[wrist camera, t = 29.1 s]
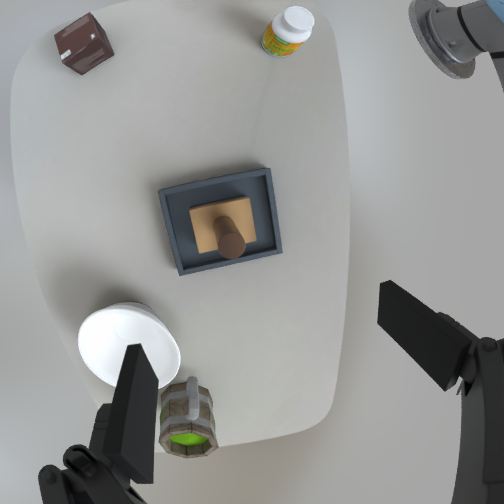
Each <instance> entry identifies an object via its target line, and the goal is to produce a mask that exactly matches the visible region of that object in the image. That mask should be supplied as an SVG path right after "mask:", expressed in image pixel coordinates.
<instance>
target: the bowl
mask: <svg viewBox="0 0 504 504" xmlns="http://www.w3.org/2000/svg"><path fill="white" fill-rule="evenodd" d="M138 343H141V345H142V347H143V349H144V352H145V354H146V356H147V358H148V360H149V362H150V364H151V366H152V368H153V370H154V372H155V374H156V376H157V378H158V380H159V386H158V389H159V388H162V387H163V386H165V385H167V384H168V383H169V382H170V381H171V380H172V379H173V378H174V377H175V375H176V374H177V372H178V370H179V366H180V352H179V348H178V346H177V344H176V342H175V339H174V338H173V337H172V335H171V334H170V332H169V329H168V327H167V325H166V324H165V323H164V321H163V320H162V319H161V318H160V317H159V316H158V315H157V314H156V313H155V312H154V311H153V310H152V309H150V308H149V307H147V306H146V305H143V304H141V303H137V302H123V303H116V304H112V305H110V306H108V307H106V308H104V309H101V310H98V311H96V312H94V313H92V314H91V315H89V316H88V317H87V318H86V319H85V320H84V321H83V323H82V325H81V326H80V329H79V333H78V347H79V351H80V354H81V356H82V358H83V360H84V362H85V363H86V365H87V366H88V368H89V369H90V370H91V371H92V372H93V373H94V374H95V375H96V376H98V377H99V378H100V379H101V380H103V381H105V382H106V383H108V384H110V385H112V386H114V387H116V385H117V381H118V377H119V373H120V369H121V366H122V362H123V359H124V355H125V352H126V348H127V345H132V344H138Z"/></svg>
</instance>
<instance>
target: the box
mask: <svg viewBox="0 0 504 504" xmlns="http://www.w3.org/2000/svg"><path fill="white" fill-rule="evenodd" d="M54 37H55V40H56V44H57V47H58V50H59V54H60V57H61V60H62V63H63V64H65V65H66V66H68V67H70V68H71V69H73V70H74V71H76V72H78V73H79V74H81V75H83V74H84V73H86V72H87V71H89V70H90V69H92V68H93V67H95V66H97V65H98V64H100V63H101V62H103V61H105V60H106V59H108V58H110V57H111V56H113V55H114V52H113V50H112V48H111V45H110V43H109V41H108V38H107V36H106V33H105V31H104V29H103V28H102V27H101V25H100V24H99V23H98V21H97V20H96V19H95V18H94V16H93V15H92V14H91V13H90V12H89V13H88V14H86V15H84V16H83V17H81V18H79V19H78V20H76V21H75V22H73V23H72V24H70V25H68V26H67V27H66V28H64V29H63V30H61V31H60V32H58V33H57V34H55V35H54Z"/></svg>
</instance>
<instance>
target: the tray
mask: <svg viewBox="0 0 504 504" xmlns="http://www.w3.org/2000/svg"><path fill="white" fill-rule="evenodd" d="M158 193H159V198H160V202H161V207H162V211H163V215H164V219H165V224H166V228H167V232H168V236H169V239H170V243H171V247H172V251H173V255H174V258H175V262H176V266H177V269H178V273H179V276H182V275H186V274H191V273H195V272H200V271H204V270H209V269H213V268H218V267H222V266H227V265H231V264H236V263H240V262H244V261H249V260H253V259H258V258H262V257H267V256H271V255H275V254H280V253H283V252H282V244H281V237H280V230H279V223H278V216H277V209H276V202H275V196H274V189H273V183H272V176H271V170H270V168H263V169H257V170H251V171H246V172H240V173H235V174H230V175H224V176H219V177H214V178H210V179H205V180H200V181H196V182H191V183H187V184H182V185H178V186H174V187H169V188H165V189H161V190H159V191H158ZM242 195H246V196H247V197H249V198H250V204H251V210H252V215H253V221H254V227H255V233H256V239H257V241H254V242H249V243H245V244H246V246H245V250H244V252H243V254H242V255H241V256H239V257H238V258H235V259H227V258H225V257H223V256H222V255H221V254H220V252H219V250H218V249H217V250H213V251H208V252H204V253H199V251H198V247H197V243H196V238H195V234H194V230H193V225H192V221H191V217H190V212H189V210H190V206H194V205H198V204H203V203H208V202H212V201H217V200H222V199H227V198H231V197H236V196H242Z"/></svg>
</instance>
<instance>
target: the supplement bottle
mask: <svg viewBox="0 0 504 504" xmlns="http://www.w3.org/2000/svg"><path fill="white" fill-rule="evenodd" d="M313 25H314V17H313V15H312V14H311V13H310V12H309V11H308V10H307V9H305V8H303V7H299V6H291V7H289V8H287V9H286V10H285V11H283V12H280V13H278V14H277V15H276V16H275V17H274V18H273V20H272V21H271V23H270V25H269V26H268V28H267V29H266V31H265V33H264V34H263V36H262V40H261V42H262V46H263V48H264V49H265V51H266V52H267V53H269V54H270V55H272V56H275V57H287V56H289V55H291V54H292V53H293V52H294V51H295V50H296V49H297V48H298V47H299V46H300V45H301V44H302V43H303V42H305V41H306V40H307V39H308V38H309V36H310V34H311V27H312V26H313Z"/></svg>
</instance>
